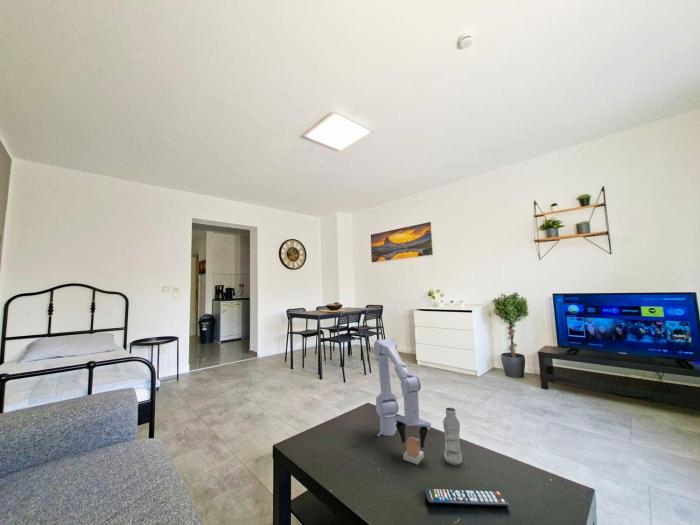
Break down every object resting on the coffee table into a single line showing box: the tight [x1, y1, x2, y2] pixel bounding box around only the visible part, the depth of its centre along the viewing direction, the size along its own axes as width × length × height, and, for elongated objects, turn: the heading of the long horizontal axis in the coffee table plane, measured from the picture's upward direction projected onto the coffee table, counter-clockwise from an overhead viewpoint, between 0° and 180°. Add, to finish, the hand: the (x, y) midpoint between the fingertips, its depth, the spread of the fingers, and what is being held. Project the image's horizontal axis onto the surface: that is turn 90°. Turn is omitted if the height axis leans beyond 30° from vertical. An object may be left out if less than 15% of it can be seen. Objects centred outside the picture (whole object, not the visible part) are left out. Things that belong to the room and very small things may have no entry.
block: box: [406, 436, 421, 458], centre depth 110 cm, size 4×4×5 cm
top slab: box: [402, 450, 425, 465], centre depth 110 cm, size 6×6×2 cm
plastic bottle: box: [442, 407, 463, 466], centre depth 109 cm, size 6×7×20 cm
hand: (412, 444), depth 110 cm, fingers open, 7 cm apart
